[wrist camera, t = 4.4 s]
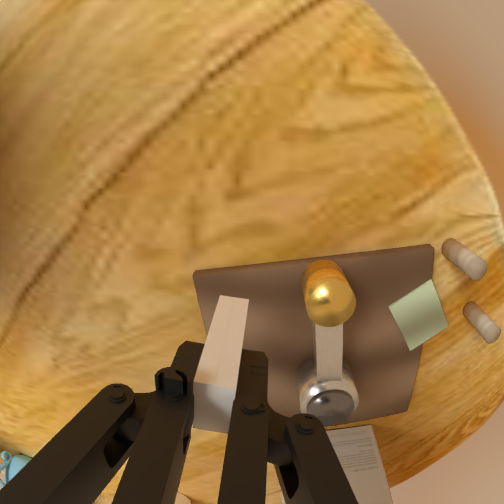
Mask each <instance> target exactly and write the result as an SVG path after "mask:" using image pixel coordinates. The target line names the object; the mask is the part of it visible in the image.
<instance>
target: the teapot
mask: <svg viewBox="0 0 504 504" xmlns="http://www.w3.org/2000/svg"><path fill="white" fill-rule="evenodd" d="M5 455H8V458H7V459H6V458H5ZM1 457H2V459H3V460H4V462H3V463H2V464H0V472H1V471H2V470H3V469H4V468H5V467H6V468H5V482H6V484H7V483H8V482H9V481H10V480H11V479H12V478H13V477H14V476H15V475H16V474H17V473H18V472H19V471H20V470H21V469H22V468H23V467H24V466H25V465H26V464H27V463H28V462H29V461H30V460H31V459H32V458H30V457H28V456H25V455H15V456H13V455H12V454H11V453H10V452H8V451H6V450H5V451H3V452H2V453H1ZM6 484H4V483H3V482H2V481H1V479H0V485H1V486H2V487H4V486H5V485H6Z"/></svg>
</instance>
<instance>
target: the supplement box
mask: <svg viewBox="0 0 504 504" xmlns="http://www.w3.org/2000/svg"><path fill="white" fill-rule="evenodd" d="M326 433H327V435H328V437H329V439H330V441H331V444H332V446H333V448H334V450H335V453H336V455H337V457H338V459H339V461H340V464H341V466H342V468H343V470H344V473H345V475H346V477H347V479H348V481H349V484H350V486H351V488H352V490H353V493H354V495H355V497H356V499H357V501H358V504H393V501H392V497H391V493H390V489H389V485H388V481H387V477H386V474H385V470H384V466H383V462H382V459H381V455H380V452H379V448H378V445H377V441H376V438H375V434H374V431H373V427H372V425H366V426H359V427H352V428H344V429H336V430H327V431H326ZM281 500H282V504H286V503H285V500H284V497H283V493H282V490H281Z"/></svg>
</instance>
